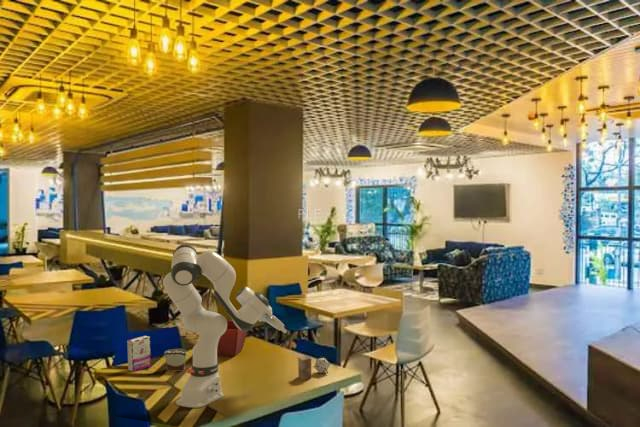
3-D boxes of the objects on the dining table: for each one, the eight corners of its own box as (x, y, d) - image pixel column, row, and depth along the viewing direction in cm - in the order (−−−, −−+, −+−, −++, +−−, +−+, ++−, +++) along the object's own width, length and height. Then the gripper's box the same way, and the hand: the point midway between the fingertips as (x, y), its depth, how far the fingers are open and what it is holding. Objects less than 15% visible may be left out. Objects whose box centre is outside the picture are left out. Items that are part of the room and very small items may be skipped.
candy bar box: (145, 364, 278) (145, 335, 278) (151, 366, 275) (150, 336, 275) (127, 370, 269) (126, 339, 269) (132, 372, 266) (132, 341, 266)
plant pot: (237, 358, 287) (237, 329, 287) (206, 357, 291) (205, 328, 290) (249, 349, 306) (248, 321, 305) (219, 347, 310) (219, 320, 309)
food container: (190, 367, 274) (190, 348, 273) (186, 370, 267) (186, 352, 267) (168, 366, 275) (168, 348, 274) (164, 370, 269) (164, 351, 268)
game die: (325, 380, 261) (330, 368, 255) (309, 375, 261) (315, 362, 255) (328, 367, 268) (334, 355, 263) (313, 361, 268) (318, 349, 263)
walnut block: (302, 379, 252) (302, 359, 252) (298, 376, 257) (298, 357, 256) (311, 378, 254) (311, 358, 254) (307, 375, 259) (307, 355, 259)
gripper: (274, 311, 237) (294, 329, 241) (261, 303, 256) (279, 320, 260) (265, 322, 235) (285, 340, 240) (252, 313, 254) (271, 330, 258)
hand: (282, 329), depth 250 cm, fingers open, 8 cm apart
